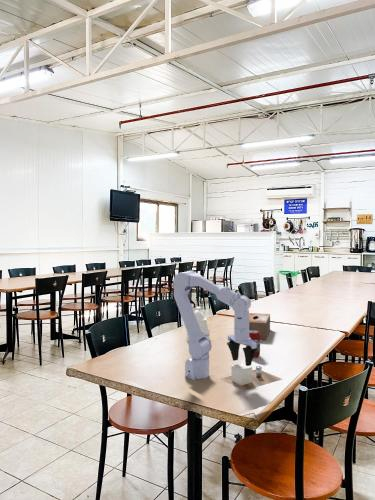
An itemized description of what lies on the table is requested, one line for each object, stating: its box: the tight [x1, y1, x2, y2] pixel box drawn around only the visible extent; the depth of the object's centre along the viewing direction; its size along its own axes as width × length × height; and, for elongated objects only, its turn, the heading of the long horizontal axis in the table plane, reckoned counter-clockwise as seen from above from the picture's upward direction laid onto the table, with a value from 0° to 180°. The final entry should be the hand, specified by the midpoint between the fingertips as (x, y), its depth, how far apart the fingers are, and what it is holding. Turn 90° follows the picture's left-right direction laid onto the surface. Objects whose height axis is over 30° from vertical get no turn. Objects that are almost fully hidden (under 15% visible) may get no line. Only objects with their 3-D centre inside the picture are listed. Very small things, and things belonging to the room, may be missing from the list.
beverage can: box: [245, 330, 261, 358], centre depth 187 cm, size 7×7×12 cm
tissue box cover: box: [249, 312, 271, 341], centre depth 229 cm, size 26×14×10 cm, turn 163°
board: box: [220, 369, 282, 391], centre depth 154 cm, size 20×14×2 cm
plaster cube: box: [231, 362, 253, 385], centre depth 151 cm, size 6×6×6 cm
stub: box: [255, 365, 263, 378], centre depth 156 cm, size 2×2×4 cm
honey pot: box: [186, 306, 211, 342], centre depth 217 cm, size 13×13×18 cm
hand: (241, 362), depth 150 cm, fingers open, 7 cm apart
